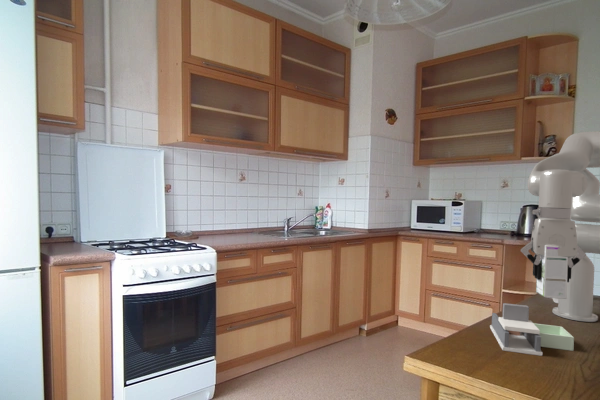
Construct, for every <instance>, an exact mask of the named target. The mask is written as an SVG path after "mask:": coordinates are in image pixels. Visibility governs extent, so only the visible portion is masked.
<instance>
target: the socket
mask: <svg viewBox="0 0 600 400" xmlns="http://www.w3.org/2000/svg"><path fill="white" fill-rule="evenodd" d="M533 324H534V325H535V326H536V327H537V328H538V329H539V330H540V334H539V335H540V336H541V347H542V348H550V349H558V350H564V351H571V352H572V351H574V350H575V349H574V347H575V346H574V345H575V344H574V343H575V337H574V336H573V335H572V334H571V333H570V332H568V330H566V329H565V328H564V327H563V326H561V325H560V326H558V325H552V324H551V325H550V324H543V323H536V322H533Z"/></svg>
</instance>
